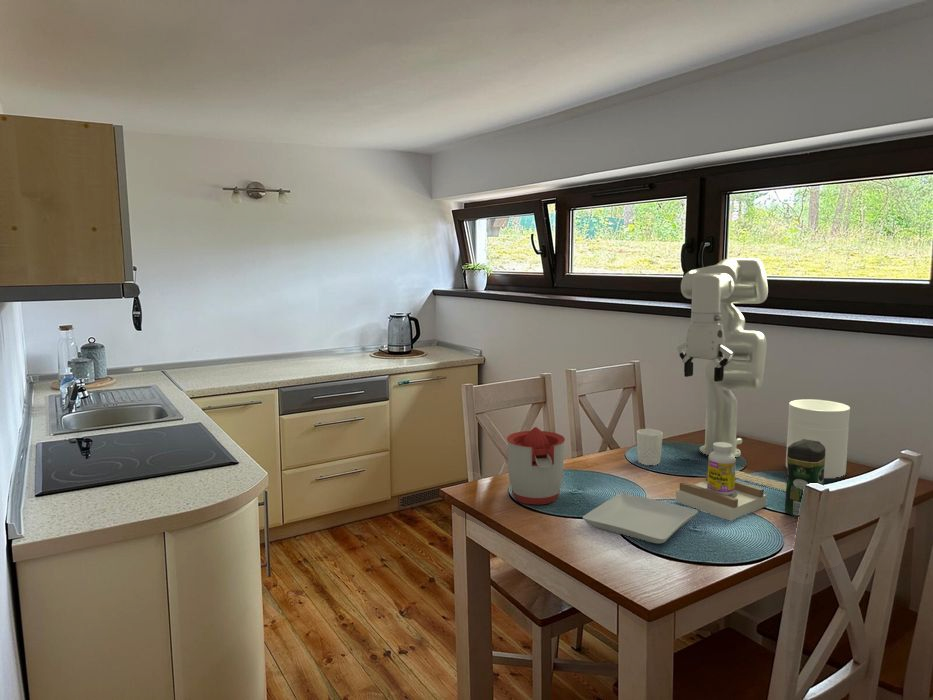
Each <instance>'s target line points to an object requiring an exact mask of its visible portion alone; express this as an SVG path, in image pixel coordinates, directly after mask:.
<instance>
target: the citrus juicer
mask: <svg viewBox="0 0 933 700" xmlns="http://www.w3.org/2000/svg"><path fill="white" fill-rule="evenodd" d="M565 439H566V438H565V436H564V435H562V434H559V433H557V432H554V431H553V432H552V431H547V430H546V431H545V430H541V429H540V428H538V427H537V426H536V427H533V428H532V429H531V430H524V431H517V432H513V433H510V434H509V435H508V436H507V438H506V441H507V472H508V479H509V484H510V487H511V491H512V494H513V497H514V498H515V500H517V501H518V502H520V503H523V504H525V505H547V504H551V502H552V503H554V502H555V501H556V500H557V499H558V498H559V495H560V492H561V488H562V484H563V480H564V473H565V472H564V467H565V466H564V465H565V464H564V461H565V460H564V459H565V458H564V457H565V455H564V454H565V453H564V452H565V449H564V448H565V447H564V443H565V441H566V440H565ZM553 501H554V502H553Z"/></svg>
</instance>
